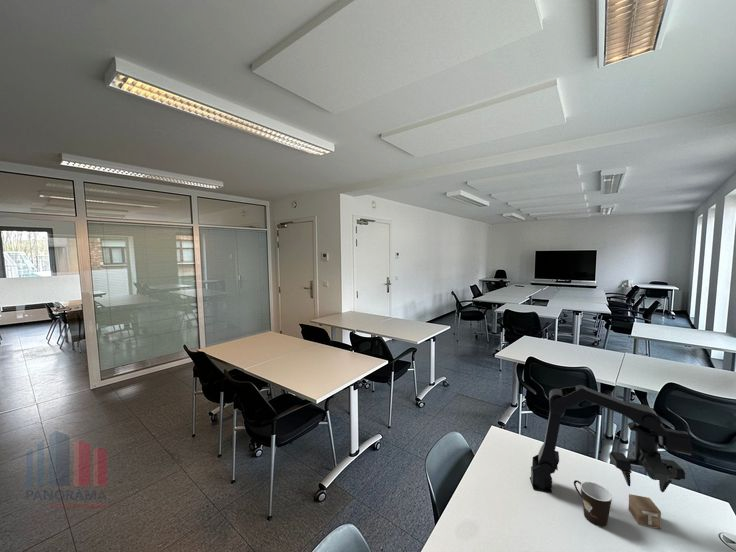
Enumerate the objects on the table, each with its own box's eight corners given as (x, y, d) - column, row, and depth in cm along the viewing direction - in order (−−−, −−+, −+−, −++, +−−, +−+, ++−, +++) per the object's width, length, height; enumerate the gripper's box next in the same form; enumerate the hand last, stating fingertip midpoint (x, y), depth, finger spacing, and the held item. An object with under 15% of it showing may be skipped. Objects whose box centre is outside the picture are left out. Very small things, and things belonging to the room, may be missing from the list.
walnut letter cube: (638, 525, 98) (639, 508, 98) (628, 510, 104) (628, 494, 104) (661, 529, 96) (661, 512, 96) (649, 514, 102) (649, 497, 102)
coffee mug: (617, 532, 96) (618, 503, 95) (588, 527, 98) (588, 499, 97) (597, 503, 107) (597, 477, 107) (571, 500, 109) (571, 474, 109)
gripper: (625, 454, 94) (624, 500, 95) (700, 465, 89) (698, 514, 89) (608, 434, 105) (607, 476, 106) (674, 443, 99) (673, 487, 100)
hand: (644, 488), depth 100 cm, fingers open, 9 cm apart
